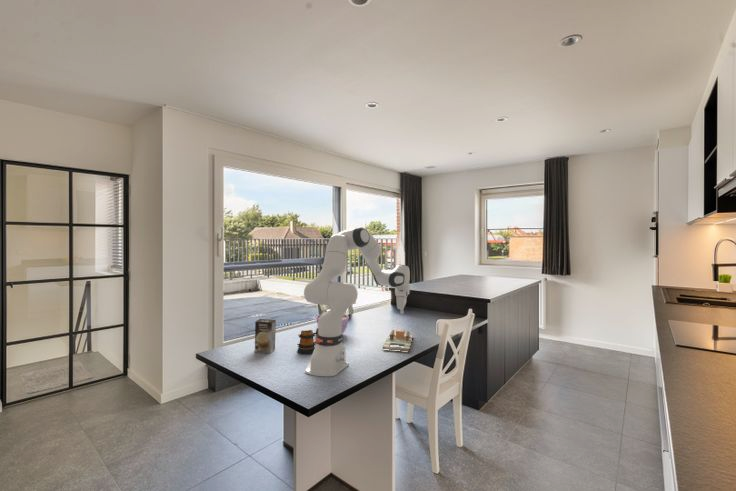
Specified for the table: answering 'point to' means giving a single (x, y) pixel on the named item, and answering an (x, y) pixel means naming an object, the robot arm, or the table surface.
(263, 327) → the coffee box
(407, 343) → the tunnel board
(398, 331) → the block
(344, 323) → the bowl of food
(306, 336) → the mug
